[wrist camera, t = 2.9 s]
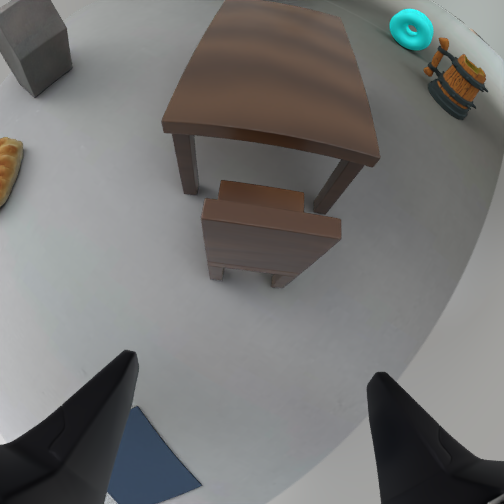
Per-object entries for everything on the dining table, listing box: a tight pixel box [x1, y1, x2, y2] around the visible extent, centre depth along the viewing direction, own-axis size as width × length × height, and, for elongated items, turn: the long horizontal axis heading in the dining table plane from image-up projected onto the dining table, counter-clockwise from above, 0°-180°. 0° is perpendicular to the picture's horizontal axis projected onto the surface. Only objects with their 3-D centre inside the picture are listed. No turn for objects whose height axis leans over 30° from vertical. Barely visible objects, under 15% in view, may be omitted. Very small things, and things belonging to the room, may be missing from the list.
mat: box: [107, 406, 202, 504], centre depth 17 cm, size 9×9×1 cm
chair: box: [201, 180, 341, 288], centre depth 18 cm, size 6×6×12 cm
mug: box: [424, 38, 488, 120], centre depth 32 cm, size 13×10×12 cm
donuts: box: [390, 9, 434, 50], centre depth 38 cm, size 10×10×10 cm
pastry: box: [0, 137, 23, 207], centre depth 21 cm, size 9×7×4 cm
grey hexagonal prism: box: [0, 0, 72, 97], centre depth 21 cm, size 17×8×21 cm
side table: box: [161, 0, 380, 214], centre depth 24 cm, size 24×14×10 cm, turn 174°
